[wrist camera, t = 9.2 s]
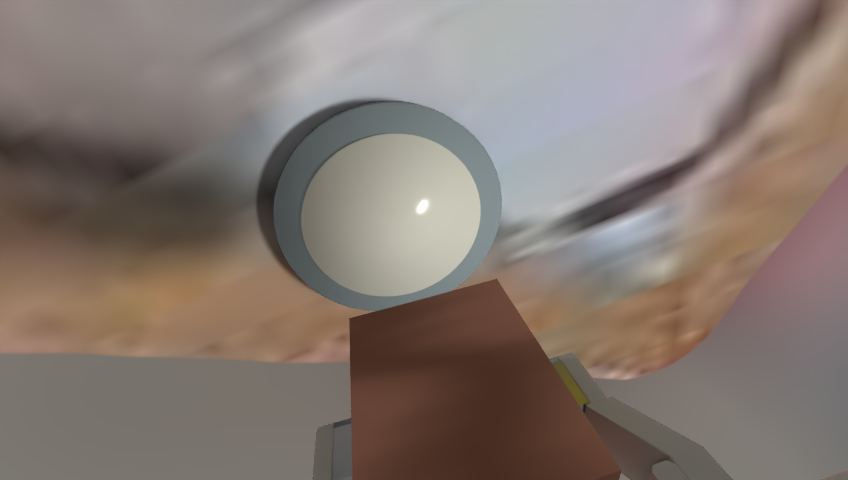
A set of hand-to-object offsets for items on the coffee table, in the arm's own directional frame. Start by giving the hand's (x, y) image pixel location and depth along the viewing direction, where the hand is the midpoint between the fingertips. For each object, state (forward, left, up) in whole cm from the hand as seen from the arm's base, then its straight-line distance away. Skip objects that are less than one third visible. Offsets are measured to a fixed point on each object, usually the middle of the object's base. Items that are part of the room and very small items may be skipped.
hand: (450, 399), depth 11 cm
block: (0, 0, -2) cm, 2 cm away
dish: (0, 0, -13) cm, 13 cm away
